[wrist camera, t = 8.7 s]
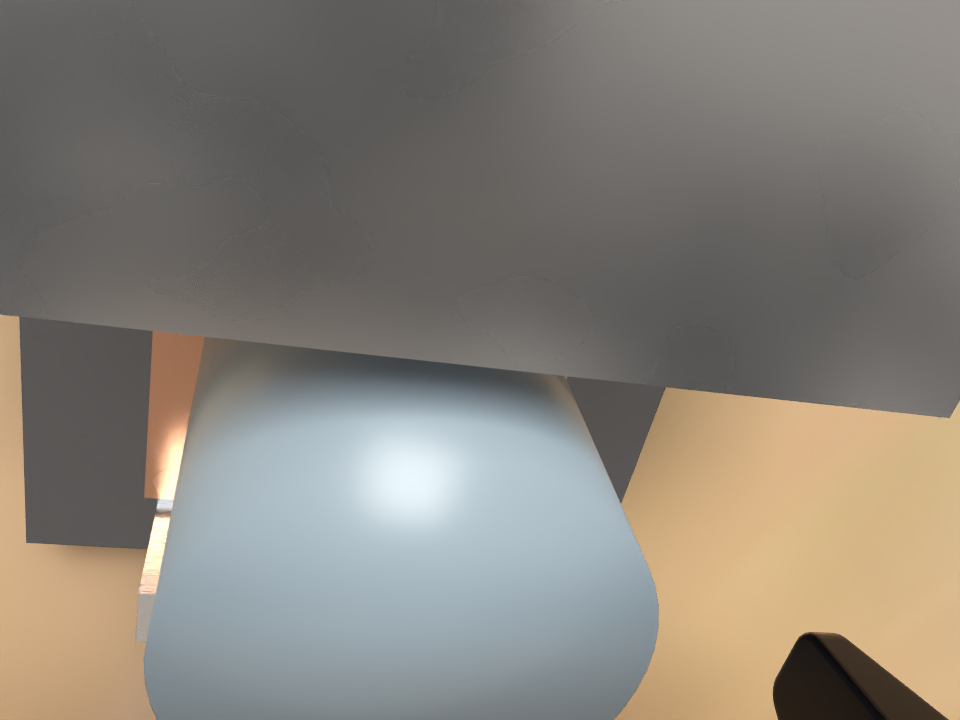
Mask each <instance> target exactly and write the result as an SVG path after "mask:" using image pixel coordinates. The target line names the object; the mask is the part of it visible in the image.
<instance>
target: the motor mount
mask: <svg viewBox="0 0 960 720" xmlns="http://www.w3.org/2000/svg"><path fill="white" fill-rule="evenodd" d="M0 314H2V315H11V316H20V348H21V380H22V413H23V445H24V478H25V510H26V543H42V544H61V545H80V546H99V547H118V548H137V549H148V551H147V556H146V560H145V565H144V570H143V574H142V579H141V584H140V588H139V593H138V610H137V630H136V642H147V636H148V630H149V625H150V620H151V615H152V609H153V604H154V599H155V594H156V589H157V583H158V578H159V573H160V568H161V563H162V557H163V552H164V547H165V542H166V536H167V531H168V526H169V521H170V516H171V510H172V505H173V500H174V495H175V490H176V484H177V479H178V474H179V469H180V464H181V458H182V453H183V448H184V443H185V438H186V432H187V427H188V422H189V417H190V412H191V406H192V401H193V396H194V391H195V385H196V380H197V375H198V370H199V365H200V359H201V354H202V349H203V344H204V339H205V337H212V338H221V339H231V340H240V341H249V342H258V343H267V344H276V345H285V346H295V347H304V348H313V349H322V350H331V351H340V352H350V353H359V354H368V355H377V356H386V357H395V358H405V359H414V360H423V361H432V362H441V363H450V364H459V365H469V366H478V367H487V368H496V369H505V370H514V371H524V372H533V373H542V374H551V375H560V376H565V378H566V380H567V383H568V385H569V387H570V389H571V392H572V394H573V396H574V399H575V401H576V403H577V405H578V408H579V410H580V412H581V415H582V417H583V419H584V421H585V424H586V426H587V428H588V430H589V433H590V435H591V437H592V440H593V442H594V444H595V446H596V449H597V451H598V453H599V456H600V458H601V460H602V462H603V465H604V467H605V469H606V472H607V474H608V476H609V478H610V481H611V483H612V485H613V488H614V490H615V492H616V494H617V497H618V499H619V501H620V503H621V502H622V500H623V497H624V495H625V492H626V489H627V487H628V484H629V481H630V479H631V476H632V474H633V471H634V468H635V466H636V463H637V461H638V458H639V455H640V453H641V450H642V447H643V445H644V442H645V440H646V437H647V434H648V432H649V429H650V426H651V424H652V421H653V419H654V416H655V413H656V411H657V408H658V406H659V403H660V400H661V398H662V395H663V392H664V390H665V387H670V388H679V389H688V390H698V391H707V392H716V393H725V394H734V395H743V396H753V397H762V398H771V399H780V400H789V401H798V402H808V403H817V404H826V405H835V406H844V407H853V408H862V409H872V410H881V411H890V412H899V413H908V414H917V415H927V416H936V417H945V418H950V416H951V415H952V413H953V411H954V409H955V408H956V406H957V404H958V402H959V401H960V0H0Z"/></svg>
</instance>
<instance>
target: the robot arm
mask: <svg viewBox="0 0 960 720" xmlns="http://www.w3.org/2000/svg"><path fill="white" fill-rule="evenodd" d="M773 701H774V706H775V710H776V713H777V717H778V720H948V719H947V718H946V717H945V716H943V715H942V714H941V713H939V712H938V711H937V710H936V709H934V708H933V707H932V706H931V705H929V704H928V703H927V702H926V701H924V700H923V699H922V698H921V697H919V696H918V695H917V694H916V693H914V692H913V691H912V690H910V689H909V688H908V687H907V686H905V685H904V684H903V683H902V682H900V681H899V680H898V679H897V678H895V677H894V676H893V675H892V674H890V673H889V672H888V671H887V670H885V669H884V668H883V667H881V666H880V665H879V664H878V663H876V662H875V661H874V660H873V659H871V658H870V657H869V656H868V655H866V654H865V653H864V652H863V651H861V650H860V649H859V648H858V647H856V646H855V645H854V644H852V643H851V642H850V641H849V640H847V639H846V638H845V637H843V636H841V635H839V634H835V633H819V632H808V633H804V634H803V635H801V636H800V637H799V638H798V640H797V641H796V643H795V644H794V646H793V648H792V650H791V652H790V654H789V655H788V657H787V659H786V661H785V663H784V664H783V666H782V668H781V670H780V672H779V673H778V675H777V677H776V679H775V682H774V686H773Z"/></svg>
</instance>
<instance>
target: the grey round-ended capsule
mask: <svg viewBox="0 0 960 720" xmlns="http://www.w3.org/2000/svg"><path fill="white" fill-rule="evenodd" d="M658 609H659V605H658V600H657V594H656V589H655V583H654V581H653V578H652V576H651V573H650V571H649V568H648V565H647V563H646V560H645V558H644V556H643V554H642V551H641V549H640V547H639V545H638V542H637V540H636V538H635V535H634V533H633V531H632V529H631V526H630V524H629V522H628V519H627V517H626V515H625V513H624V510H623V508H622V506H621V503H620V501H619V499H618V497H617V494H616V492H615V490H614V488H613V485H612V483H611V481H610V478H609V476H608V474H607V472H606V469H605V467H604V465H603V462H602V460H601V458H600V456H599V453H598V451H597V449H596V446H595V444H594V442H593V440H592V437H591V435H590V433H589V430H588V428H587V426H586V424H585V421H584V419H583V417H582V415H581V412H580V410H579V408H578V405H577V403H576V401H575V399H574V396H573V394H572V392H571V389H570V387H569V385H568V383H567V380H566V378H565V376H560V375H551V374H542V373H533V372H524V371H514V370H505V369H496V368H487V367H478V366H469V365H459V364H450V363H441V362H432V361H423V360H414V359H405V358H395V357H386V356H377V355H368V354H359V353H350V352H340V351H331V350H322V349H313V348H304V347H295V346H285V345H276V344H267V343H258V342H249V341H240V340H231V339H221V338H212V337H205V339H204V344H203V349H202V354H201V359H200V365H199V370H198V375H197V380H196V385H195V391H194V396H193V401H192V406H191V412H190V417H189V422H188V427H187V432H186V438H185V443H184V448H183V453H182V458H181V464H180V469H179V474H178V479H177V484H176V490H175V495H174V500H173V505H172V510H171V516H170V521H169V526H168V531H167V536H166V542H165V547H164V552H163V557H162V563H161V568H160V573H159V578H158V583H157V589H156V594H155V599H154V604H153V609H152V615H151V620H150V625H149V630H148V636H147V642H146V648H145V655H144V673H145V685H146V689H147V693H148V697H149V701H150V705H151V708H152V710H153V712H154V714H155V716H156V718H157V720H613V719H614V718H615V717H616V716H617V715H618V714H619V713H620V712H621V711H622V709H623V708H624V707H625V705H626V704H627V702H628V701H629V700H630V698H631V697H632V696H633V694H634V693H635V691H636V689H637V688H638V686H639V684H640V682H641V680H642V678H643V677H644V675H645V673H646V671H647V668H648V665H649V663H650V660H651V657H652V654H653V652H654V648H655V643H656V638H657V632H658Z"/></svg>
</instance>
